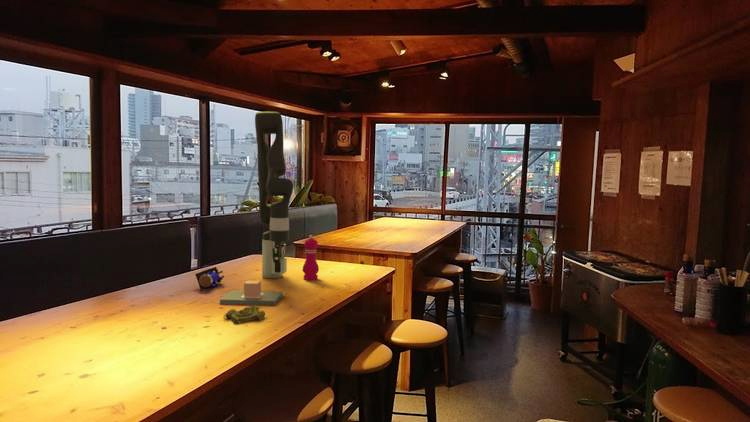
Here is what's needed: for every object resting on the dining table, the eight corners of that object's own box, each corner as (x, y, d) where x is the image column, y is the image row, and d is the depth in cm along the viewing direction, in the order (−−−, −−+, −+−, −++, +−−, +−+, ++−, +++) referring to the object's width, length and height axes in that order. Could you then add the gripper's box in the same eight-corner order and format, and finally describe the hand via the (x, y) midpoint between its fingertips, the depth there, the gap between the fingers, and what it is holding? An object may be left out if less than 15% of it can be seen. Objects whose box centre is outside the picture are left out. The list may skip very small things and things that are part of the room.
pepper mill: (300, 277, 224) (301, 234, 222) (315, 276, 227) (316, 233, 225) (305, 281, 217) (305, 236, 216) (320, 280, 220) (321, 235, 219)
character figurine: (226, 284, 210) (207, 292, 195) (211, 281, 212) (191, 290, 197) (227, 266, 209) (208, 273, 195) (212, 263, 211) (192, 270, 196)
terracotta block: (247, 293, 187) (247, 280, 187) (260, 293, 187) (260, 280, 187) (243, 296, 182) (244, 283, 182) (257, 297, 182) (257, 283, 182)
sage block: (274, 270, 199) (274, 258, 198) (286, 270, 199) (286, 258, 198) (271, 273, 194) (271, 260, 193) (284, 273, 194) (284, 261, 193)
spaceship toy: (274, 311, 172) (274, 300, 172) (255, 326, 154) (255, 315, 154) (240, 308, 174) (240, 298, 174) (217, 324, 156) (217, 313, 156)
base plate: (231, 294, 192) (231, 290, 192) (282, 295, 191) (283, 291, 191) (219, 303, 178) (219, 299, 178) (274, 305, 178) (274, 300, 177)
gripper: (285, 231, 187) (285, 275, 189) (292, 226, 202) (291, 267, 203) (265, 231, 187) (265, 274, 189) (273, 226, 202) (273, 266, 203)
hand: (279, 270), depth 196 cm, fingers closed on sage block, 5 cm apart
